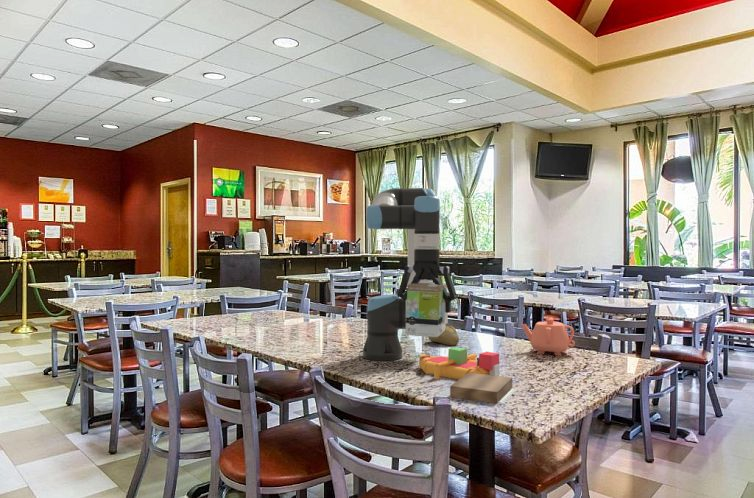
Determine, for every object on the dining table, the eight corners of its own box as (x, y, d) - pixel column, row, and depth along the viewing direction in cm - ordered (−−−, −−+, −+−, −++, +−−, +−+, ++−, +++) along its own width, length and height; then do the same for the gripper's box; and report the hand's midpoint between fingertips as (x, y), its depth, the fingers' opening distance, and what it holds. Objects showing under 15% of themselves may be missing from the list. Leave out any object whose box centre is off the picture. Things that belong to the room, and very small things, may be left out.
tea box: (439, 338, 149) (440, 285, 149) (404, 335, 152) (405, 284, 152) (446, 330, 164) (447, 282, 164) (414, 328, 166) (415, 281, 166)
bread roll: (436, 340, 237) (436, 322, 237) (464, 344, 227) (464, 325, 227) (423, 342, 230) (423, 324, 230) (451, 347, 220) (451, 328, 220)
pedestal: (450, 396, 145) (450, 385, 145) (469, 382, 160) (469, 372, 160) (497, 403, 139) (497, 392, 139) (512, 387, 154) (512, 377, 154)
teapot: (519, 350, 213) (519, 317, 213) (551, 347, 221) (551, 315, 221) (549, 358, 199) (549, 322, 199) (581, 354, 206) (582, 320, 206)
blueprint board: (438, 397, 147) (438, 394, 147) (457, 384, 162) (457, 381, 162) (503, 406, 139) (503, 403, 139) (517, 391, 153) (517, 388, 153)
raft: (437, 363, 192) (437, 338, 192) (513, 377, 172) (513, 349, 171) (396, 374, 175) (396, 347, 175) (474, 391, 155) (474, 360, 155)
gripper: (386, 248, 159) (385, 321, 160) (460, 249, 149) (460, 327, 149) (396, 247, 166) (396, 317, 166) (468, 248, 155) (468, 323, 156)
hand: (426, 322), depth 158 cm, fingers closed on tea box, 11 cm apart
